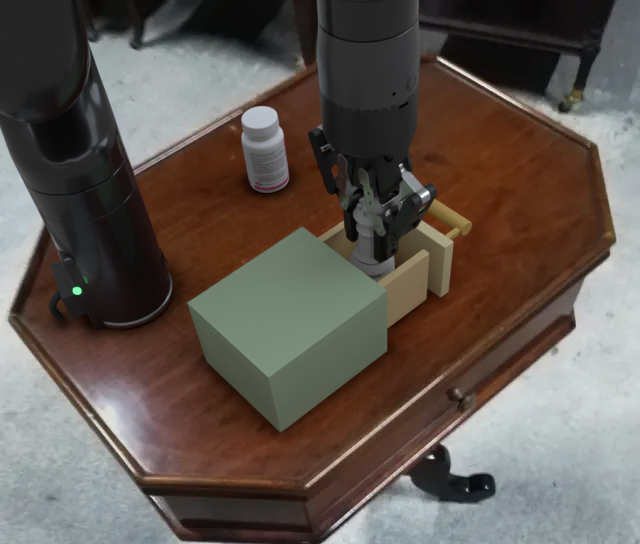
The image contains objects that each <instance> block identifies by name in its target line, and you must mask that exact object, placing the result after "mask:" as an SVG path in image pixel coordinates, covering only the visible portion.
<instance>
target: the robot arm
mask: <svg viewBox="0 0 640 544" xmlns="http://www.w3.org/2000/svg"><path fill="white" fill-rule="evenodd" d="M419 9H420V0H316V12H317V13H316V14H317V35H316V60H317V61H316V62H317V76H318V88H319V89H318V90H319V101H320V103H319V104H320V116H321V124H320V125H318V126H316V127H314V128H313V129H311V130H310V131H308V133H307V136H308V140H309V143H310V146H311V149H312V152H313V155H314V158H315V161H316V164H317V167H318V170H319V173H320V176H321V179H322V182H323V184H324V188H325V190H326V192H327V193H328V194H329V195H330V196H334V195H336V196H337V198H338V201H337V202H338V204H339V207H340V208H341V209H342V214H343V221H344V228H345V231H346V238H347V239H348V240H350V241H351V242H355V241H357V240H358V235H359V232H358V231H357V229H356V224H357V221H356V220H355V218H354V217H353V211H354V210H355V208H356V207H357V204H359V200H360V199H361V198H362V197H363V198H365V202H366V208H367V211H369V212H371V213H372V215H373V221H374V227H375V230H374V259H375V260H376V261H378V262H379V263H383V262H384V261H387V260H388V259H389V258H391V257H392V256H394V255H395V254H397V252H398V250H399V246H398V245H399V243H398V242H399V239H401V238H402V237H403V236H404V235H406V234H407V233H408V232H410V231H411V230H414V229H415V228H417V227H418V226H419V224H420V222H421V221H423V219H424V217H425V215H426V214H427V211H428V209H429V207H430V206H431V204H432V202H433V201H434V199H436V197H437V196H438V190H437V188H436V186H435V185H434V184H433V183H431V182H428V183H426V184H425V185H423V184H422V183H421V182H420V181H419V180H418V179H417V178H416V176H415V175H414V174H413V171H414V165H413V161H412V158H411V154H410V147H411V144H412V143H413V139H414V137H415V135H416V131H417V128H418V114H419V112H418V111H419V94H420V93H419V90H420V71H421V69H420V68H421V49H422V48H421V47H422V46H421V32H420V24H419V23H420V22H419V21H420V20H419V17H420V15H419ZM87 31H88V30H87V24H86V18H85V12H84V6H83V0H0V131H1V134H2V137H3V139H4V142H5V146H6V148H7V150H8V154H9V156H10V158H11V160H12V162H13V164H14V166H15V168H16V170H17V172H18V175H19V176H20V178H21V179H22V182H23V184H24V186H25V188H26V190H27V192H28V194H29V196H30V198H31V200H32V202H33V204H34V206H35V208H36V210H37V212H38V214H39V215H40V218H41V219H42V221H43V222H42V223H43V224H44V226H45V227H46V230H47V231H48V234H49V235H50V237H51V239H52V241H53V244H54V246H55V249H56V251H57V254H58V257H59V259H60V260H58V261H56V262H53V263H50V265H49V266H50V269H51V271H52V274H53V278H54V281H55V283H56V286H57V290H56V291H55V293H53V295H52V297H51V298H50V300H49V302H48V310H49V312H50V314H51V315H52V316H53V317H54V318H55V320H56V321H58V322H60V321H62V320H63V319H64V315H63V313H62V312H61V311H60V310H59V309H58V307H57V306H58V303H59V301H60V300H61V301H62V302H63V304H64V306H65V308H66V310H67V312H68V313H69V315H70V317H71V319H75V318H78V317H81V316H84V315H86V314H87V317H88V318H89V321H90V322H91V324H92V326H93V329H94V330H97V331H98V330H101V329H103V328H109V329H114V330H126V329H132V328H137V327H141V326H143V325H146V324H147V323H150V322H151V321H153V320H154V319H156V318H157V317H159V316H160V315H161V314H162V313H164V312H165V310H166V309H167V308H168V306H169V305H170V303H171V302H172V299H173V295H174V282H173V279H172V276H171V274H170V272H169V270H171V269H170V266H169V262H168V259H167V258H166V256H165V254H164V252H163V251H162V249H161V247H160V244H159V241H158V238H157V235H156V232H155V229H154V227H153V224H152V221H151V218H150V215H149V213H148V210H147V206H146V203H145V200H144V198H143V195H142V192H141V190H140V187H139V184H138V181H137V177H136V175H135V172H134V169H133V166H132V163H131V160H130V158H129V154H128V151H127V149H126V146H125V143H124V140H123V137H122V134H121V131H120V128H119V125H118V122H117V119H116V116H115V113H114V111H113V108H112V105H111V102H110V99H109V96H108V93H107V91H106V88H105V85H104V82H103V80H102V78H101V75H100V71H99V69H98V65H97V63H96V60H95V57H94V54H93V51H92V49H91V46H90V43H89V38H88V32H87ZM335 165H336V166H337V175H336V176H334V173H333V170H332V168H333V167H334V166H335ZM389 209H390V214H389V215H388V216H386V215H385V214H386V212H387V210H389Z"/></svg>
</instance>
